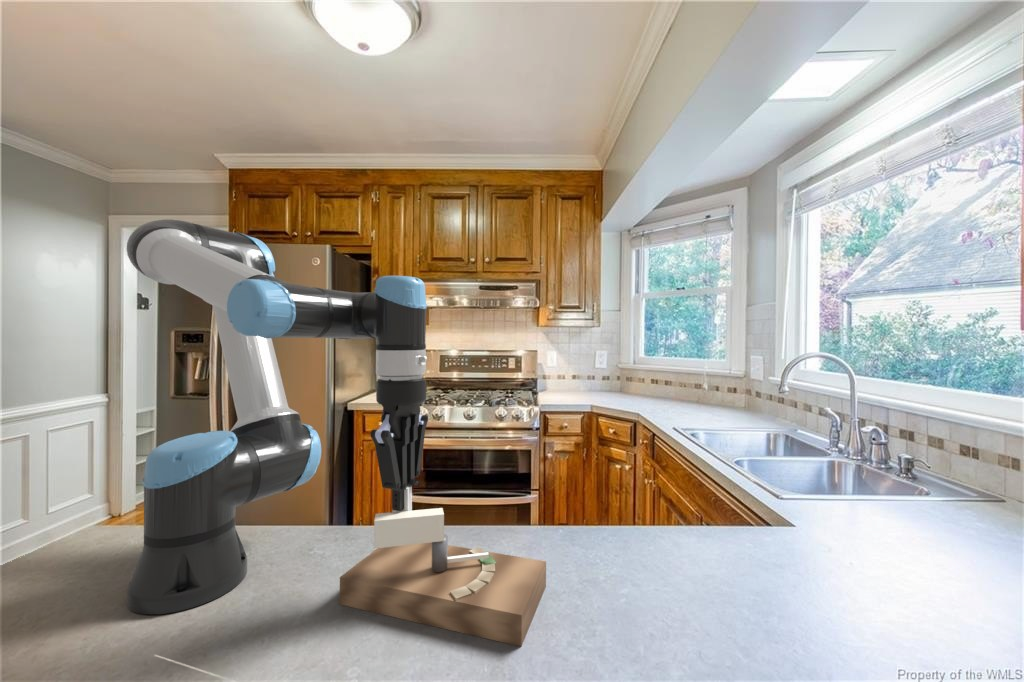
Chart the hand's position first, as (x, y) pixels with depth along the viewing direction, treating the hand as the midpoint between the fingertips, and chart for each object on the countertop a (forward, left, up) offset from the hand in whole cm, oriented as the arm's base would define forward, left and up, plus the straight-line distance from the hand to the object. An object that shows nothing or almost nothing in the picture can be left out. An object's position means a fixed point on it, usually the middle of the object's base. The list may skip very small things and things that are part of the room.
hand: (402, 527), depth 66 cm
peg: (+6, +1, -6) cm, 8 cm away
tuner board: (+7, +1, -10) cm, 12 cm away
